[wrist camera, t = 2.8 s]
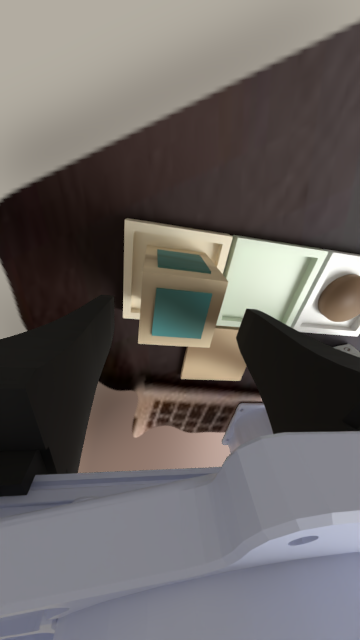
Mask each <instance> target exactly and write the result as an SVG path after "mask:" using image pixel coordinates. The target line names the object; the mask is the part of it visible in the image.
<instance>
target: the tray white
mask: <svg viewBox="0 0 360 640" xmlns="http://www.w3.org/2000/svg"><path fill="white" fill-rule="evenodd" d="M323 250H326V251H328V254H327V256H326V258H325V260H324V262H323V264H322V266H321V268H320V270H319V272H318V274H317V276H316V278H315V280H314V281H313V283H312V285H311V287H310V289H309V291H308V293H307V295H306V297H305V299H304V301H303V303H302V305H301V307H300V309H299V311H298V313H297V315H296V317H295V319H294V321H293V322H292V324H291V326H290V327H291V328H293V329H295V330H297V331H299V332H307V333H320V334H332V335H345V336H358V335H359V334H360V314H359V315H357V316H356V317H354V318H352V319H350V320H347V321H343V322H333V321H331V320H329V319H328V318H326V317H325V316H324V315H322V314H321V313H320V312H319V310H318V300H319V297H320V295H321V293H322V292H323V290H324V289H325V288H326V287H327V286H328V285H329V284H330V283H331V282H332V281H334V280H335V279H337V278H339V277H341V276H344V275H348V274H355V275H359V276H360V255H359V254H353V253H347V252H340V251H334V250H328V249H323Z"/></svg>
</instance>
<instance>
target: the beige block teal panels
mask: <svg viewBox="0 0 360 640" xmlns="http://www.w3.org/2000/svg"><path fill="white" fill-rule="evenodd" d="M227 286H228V280H227V279H226V278H225V277H224V275H223V274H222V273H221V272H220V270H219V269H218V268H217V267H216V266H215V264H214V263H213V262H212V261H211V259H210V258H209V257H208V256H207V254H206V253H201V252H193V251H186V250H179V249H172V248H164V247H157V246H150V245H147V248H146V254H145V261H144V267H143V276H142V291H141V307H140V322H139V337H138V344H153V345H169V346H186V347H203V348H210V344H211V341H212V337H213V334H214V330H215V327H216V324H217V320H218V317H219V313H220V310H221V306H222V303H223V300H224V296H225V293H226V289H227Z"/></svg>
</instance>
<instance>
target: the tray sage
mask: <svg viewBox="0 0 360 640" xmlns="http://www.w3.org/2000/svg"><path fill="white" fill-rule="evenodd" d="M232 237H233V238H232V242H231V246H230V249H229V253H228V257H227V260H226V264H225V268H224V272H223V275H224V277H225V278H226V279H227V280H228V286H227V289H226V293H225V296H224V300H223V303H222V306H221V310H220V313H219V317H218V320H217V324H216V325H218V326H231V327H240V325H241V322H242V319H243V317H244V314H245V311H246V308H247V309H257V310H259V311H262V312H264V313H266V314H268V315H270V316H272V317H273V318H275V319H277V320H279V321H280V322H282V323H284V324H286V325H288V326H289V327H290V326H291V324H292V322H293V321H294V319H295V317H296V315H297V313H298V311H299V309H300V307H301V305H302V303H303V301H304V299H305V297H306V295H307V293H308V291H309V289H310V287H311V285H312V283H313V281H314V280H315V278H316V276H317V274H318V272H319V270H320V268H321V266H322V264H323V262H324V260H325V258H326V256H327V254H328V251H326V250H323V249H320V248H315V247H309V246H302V245H296V244H289V243H283V242H277V241H270V240H264V239H258V238H251V237H245V236H239V235H233V236H232Z"/></svg>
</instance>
